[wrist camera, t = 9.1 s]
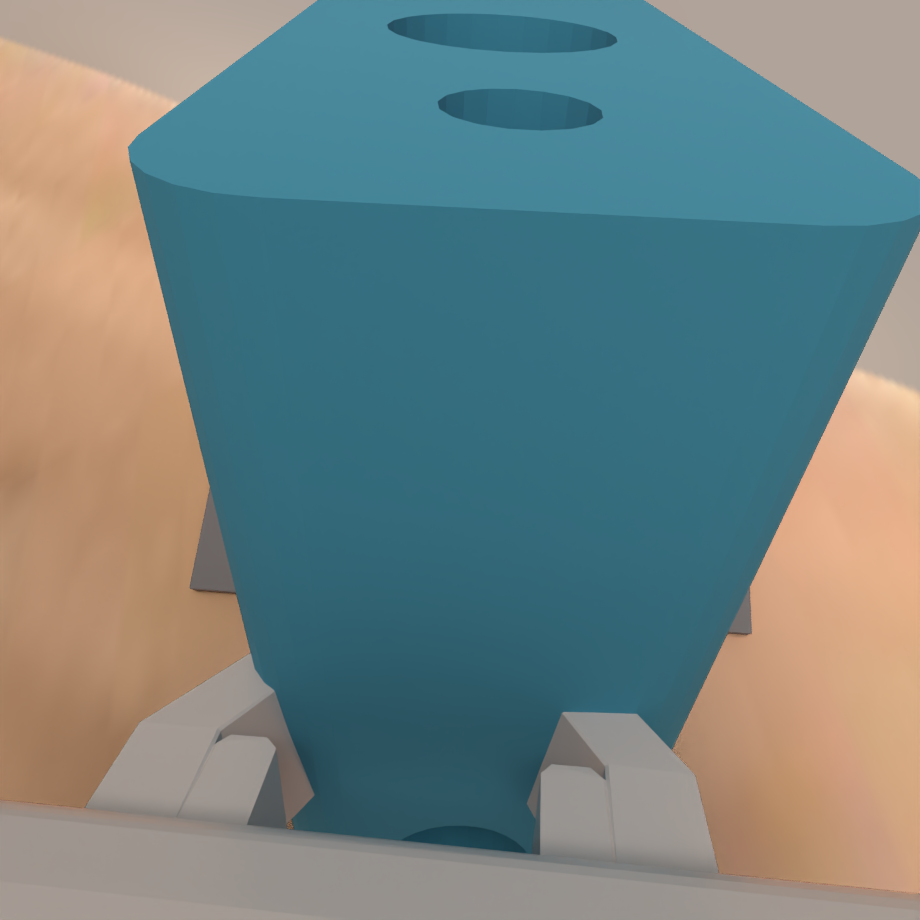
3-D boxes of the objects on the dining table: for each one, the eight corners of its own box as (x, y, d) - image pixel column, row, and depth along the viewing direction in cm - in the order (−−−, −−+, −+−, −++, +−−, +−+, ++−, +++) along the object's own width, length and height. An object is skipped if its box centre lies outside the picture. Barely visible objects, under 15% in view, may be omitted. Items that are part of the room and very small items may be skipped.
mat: (195, 589, 26) (189, 588, 25) (234, 392, 28) (230, 386, 28) (746, 634, 24) (751, 633, 24) (736, 423, 27) (741, 418, 26)
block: (545, 1057, 16) (1006, 233, 4) (333, 1052, 16) (68, 186, 4) (517, 636, 26) (623, -14, 13) (382, 631, 26) (356, -29, 13)
